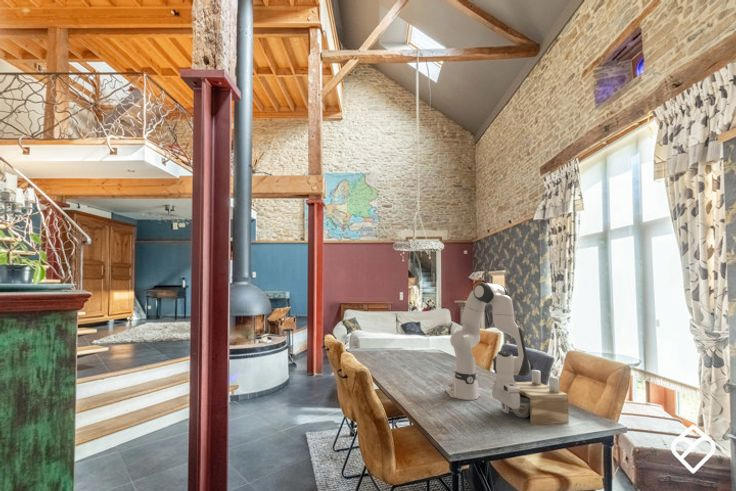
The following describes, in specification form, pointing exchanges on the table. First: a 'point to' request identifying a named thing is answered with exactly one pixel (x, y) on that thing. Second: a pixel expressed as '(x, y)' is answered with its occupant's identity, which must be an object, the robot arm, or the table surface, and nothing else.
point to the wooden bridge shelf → (545, 403)
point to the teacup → (522, 408)
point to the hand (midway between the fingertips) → (505, 412)
